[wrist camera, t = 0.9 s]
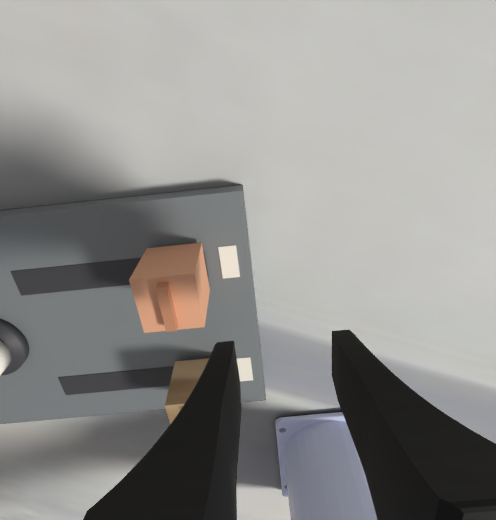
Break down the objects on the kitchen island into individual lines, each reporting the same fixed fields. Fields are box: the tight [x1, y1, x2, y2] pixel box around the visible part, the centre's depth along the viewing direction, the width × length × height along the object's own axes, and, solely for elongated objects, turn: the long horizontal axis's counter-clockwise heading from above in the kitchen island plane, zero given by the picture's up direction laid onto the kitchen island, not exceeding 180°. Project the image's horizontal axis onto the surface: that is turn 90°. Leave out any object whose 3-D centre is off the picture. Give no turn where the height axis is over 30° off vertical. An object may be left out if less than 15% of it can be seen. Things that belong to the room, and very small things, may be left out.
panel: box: [0, 185, 266, 424], centre depth 22 cm, size 15×19×2 cm
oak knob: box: [165, 358, 209, 424], centre depth 22 cm, size 3×3×4 cm
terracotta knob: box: [129, 243, 210, 333], centre depth 18 cm, size 3×3×4 cm
